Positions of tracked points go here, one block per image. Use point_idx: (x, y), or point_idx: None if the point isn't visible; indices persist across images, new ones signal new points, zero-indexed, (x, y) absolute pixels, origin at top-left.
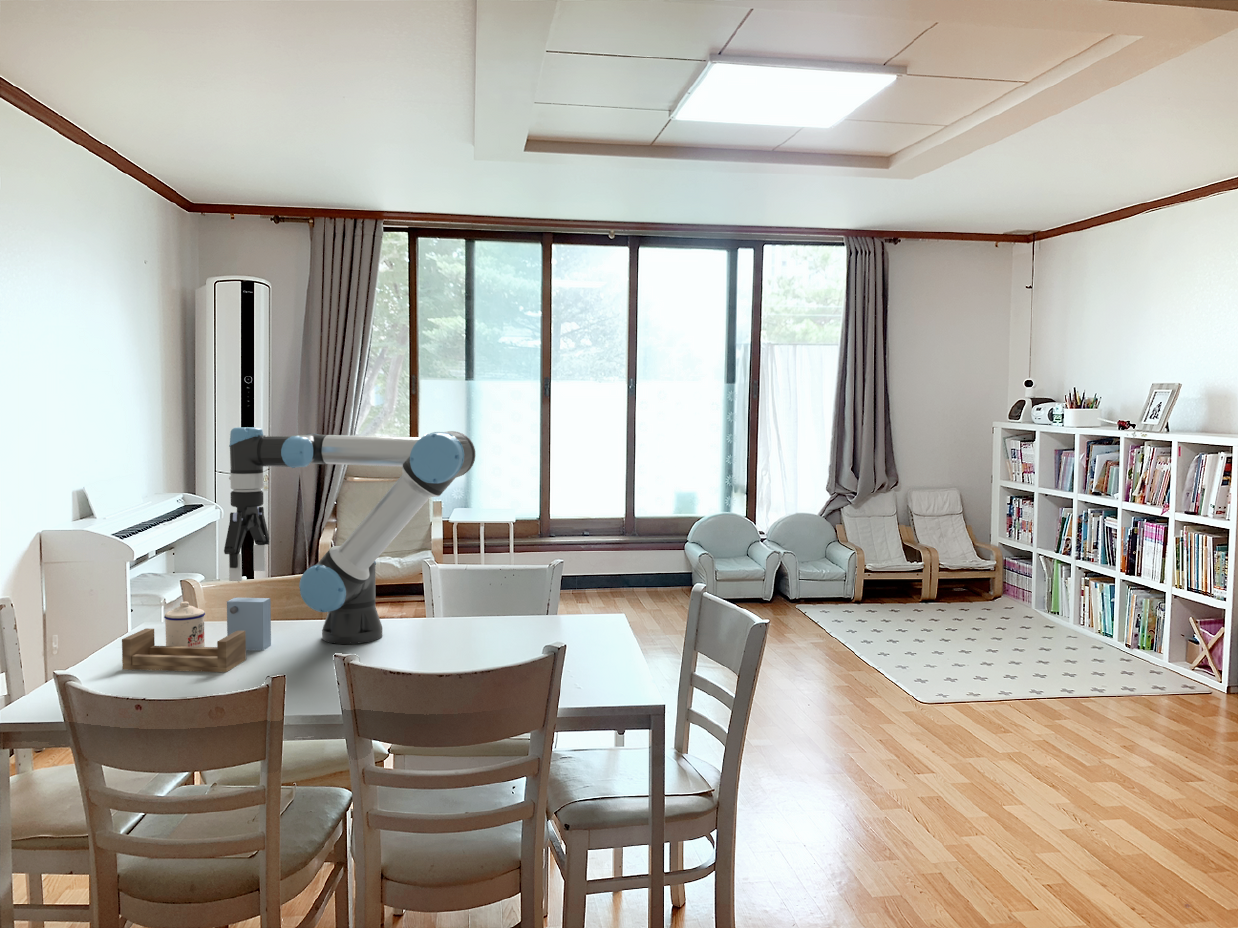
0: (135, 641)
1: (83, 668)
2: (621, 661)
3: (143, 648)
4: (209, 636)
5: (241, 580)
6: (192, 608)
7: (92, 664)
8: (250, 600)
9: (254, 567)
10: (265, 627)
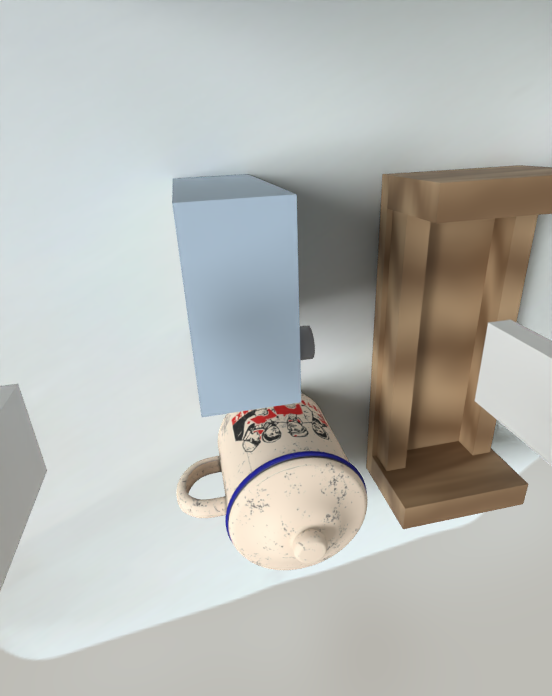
0: (495, 479)
1: (454, 522)
2: None
3: (439, 466)
4: (111, 458)
5: (496, 322)
6: (310, 505)
7: (424, 528)
8: (260, 296)
9: (36, 485)
10: (236, 182)
